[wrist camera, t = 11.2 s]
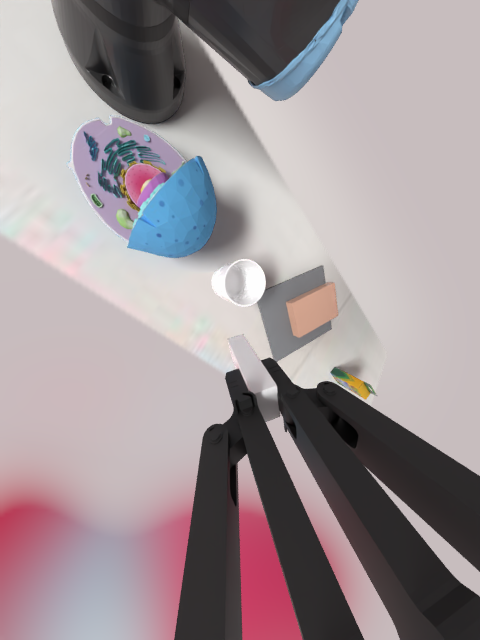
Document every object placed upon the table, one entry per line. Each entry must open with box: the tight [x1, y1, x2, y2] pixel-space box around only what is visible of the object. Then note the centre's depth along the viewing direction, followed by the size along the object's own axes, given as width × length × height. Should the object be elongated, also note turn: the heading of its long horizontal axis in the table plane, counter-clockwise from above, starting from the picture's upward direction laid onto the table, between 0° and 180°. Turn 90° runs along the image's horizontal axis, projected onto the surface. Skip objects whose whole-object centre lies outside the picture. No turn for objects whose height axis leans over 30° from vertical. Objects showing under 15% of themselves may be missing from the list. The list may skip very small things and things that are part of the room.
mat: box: [257, 266, 332, 362], centre depth 48 cm, size 20×22×1 cm
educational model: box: [66, 115, 217, 258], centre depth 23 cm, size 16×19×15 cm
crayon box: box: [331, 367, 377, 399], centre depth 57 cm, size 7×3×12 cm, turn 42°
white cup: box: [212, 259, 266, 307], centre depth 34 cm, size 8×8×10 cm
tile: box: [286, 283, 338, 338], centre depth 48 cm, size 10×2×15 cm
